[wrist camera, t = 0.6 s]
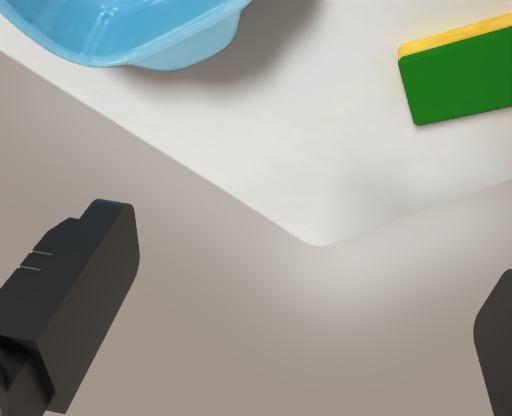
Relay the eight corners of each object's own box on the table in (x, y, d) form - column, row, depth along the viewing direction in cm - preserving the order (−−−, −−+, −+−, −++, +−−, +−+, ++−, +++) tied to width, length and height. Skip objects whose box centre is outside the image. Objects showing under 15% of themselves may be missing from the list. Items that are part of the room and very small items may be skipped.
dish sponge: (396, 42, 35) (397, 61, 33) (614, -22, 28) (625, -2, 27) (413, 109, 40) (414, 127, 38) (603, 66, 33) (612, 86, 32)
